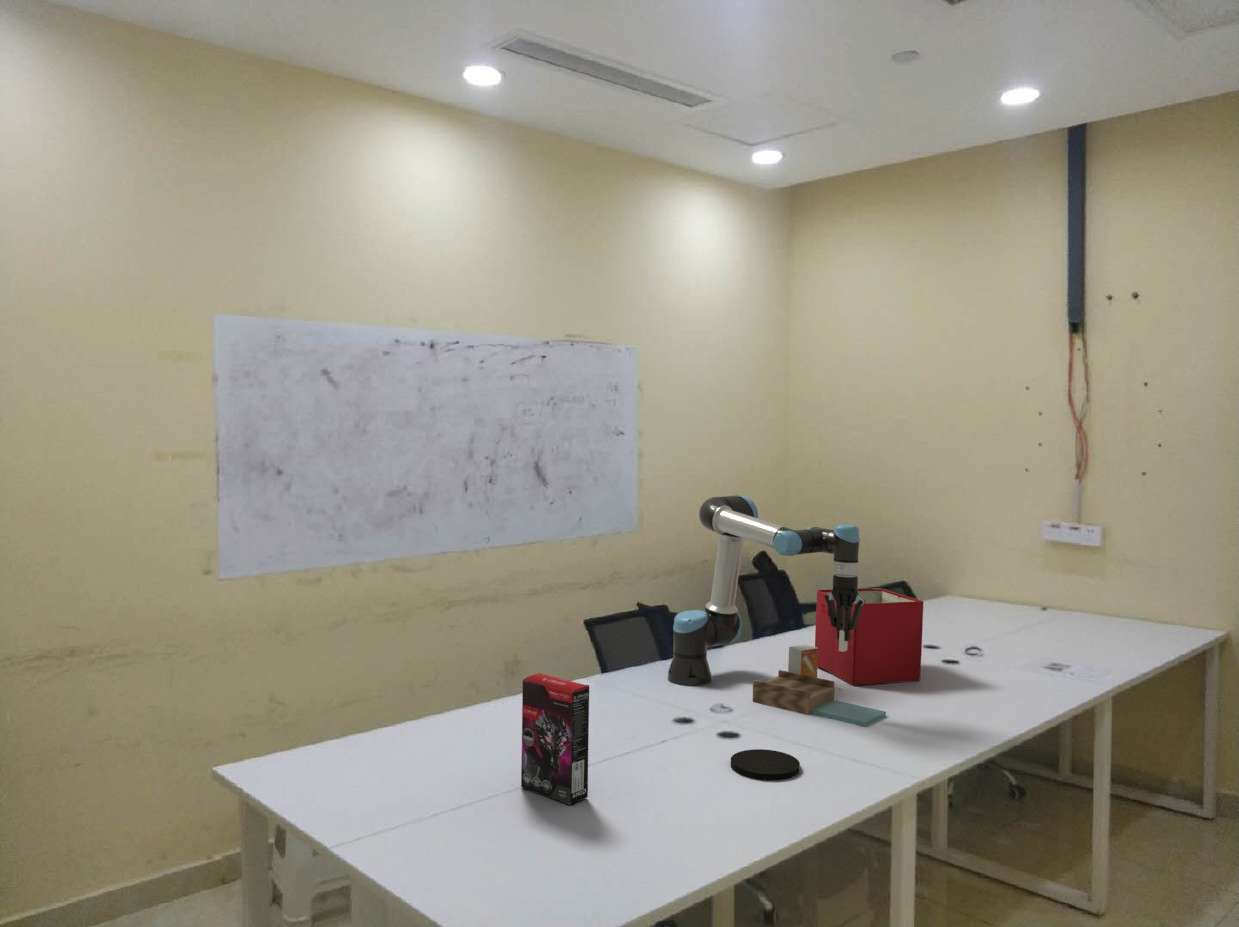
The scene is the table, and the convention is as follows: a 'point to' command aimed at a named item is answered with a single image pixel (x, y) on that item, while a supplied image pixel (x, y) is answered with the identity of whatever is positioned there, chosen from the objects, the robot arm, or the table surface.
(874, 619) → the storage cube
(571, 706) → the graphics card box
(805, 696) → the walnut case
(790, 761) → the wireless charger
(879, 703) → the table surface
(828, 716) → the cover plate
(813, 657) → the small box
